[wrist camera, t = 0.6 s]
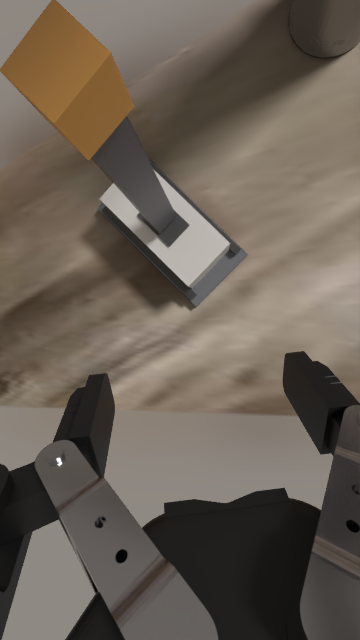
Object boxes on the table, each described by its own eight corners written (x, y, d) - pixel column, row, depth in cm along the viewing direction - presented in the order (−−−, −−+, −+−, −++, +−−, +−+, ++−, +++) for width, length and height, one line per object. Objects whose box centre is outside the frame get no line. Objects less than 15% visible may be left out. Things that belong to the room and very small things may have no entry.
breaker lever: (182, 216, 32) (111, 52, 11) (161, 239, 32) (53, 123, 11) (161, 196, 32) (53, -2, 11) (141, 219, 32) (-1, 70, 11)
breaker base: (247, 255, 38) (252, 246, 32) (196, 306, 39) (192, 307, 33) (146, 158, 39) (132, 131, 32) (100, 211, 40) (78, 195, 34)
